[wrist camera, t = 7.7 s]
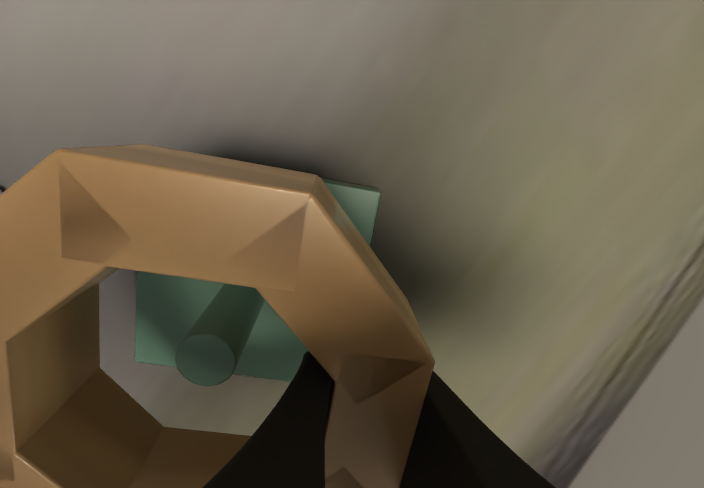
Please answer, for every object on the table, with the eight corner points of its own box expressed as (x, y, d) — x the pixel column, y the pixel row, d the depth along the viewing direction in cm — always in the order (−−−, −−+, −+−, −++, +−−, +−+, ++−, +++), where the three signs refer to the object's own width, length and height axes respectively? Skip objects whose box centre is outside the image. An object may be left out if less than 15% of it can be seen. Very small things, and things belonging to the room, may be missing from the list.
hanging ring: (34, 464, 11) (-65, 574, 9) (9, 119, 9) (-152, 112, 6) (360, 494, 13) (368, 601, 10) (433, 195, 10) (476, 221, 7)
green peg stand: (147, 346, 17) (33, 475, 10) (154, 148, 14) (11, 157, 8) (340, 371, 18) (343, 505, 11) (377, 188, 15) (408, 225, 9)
